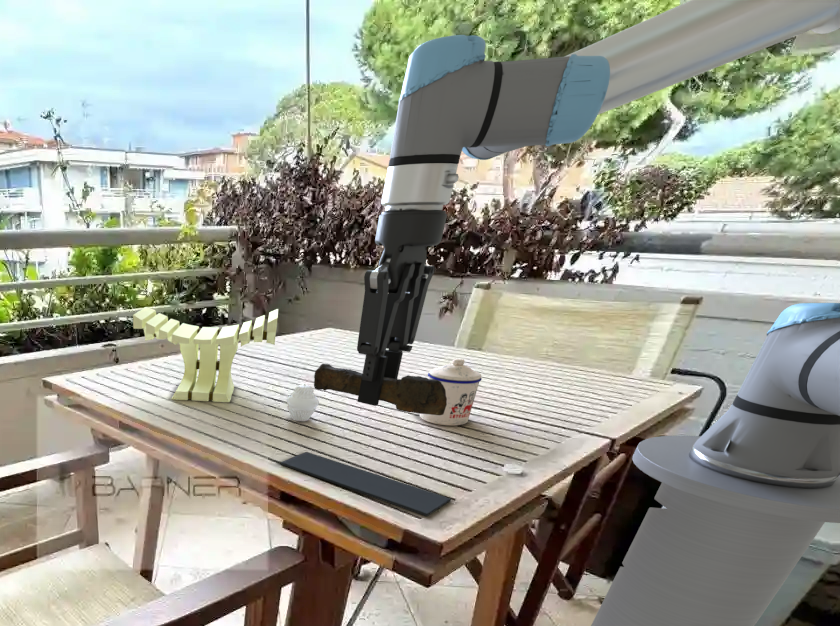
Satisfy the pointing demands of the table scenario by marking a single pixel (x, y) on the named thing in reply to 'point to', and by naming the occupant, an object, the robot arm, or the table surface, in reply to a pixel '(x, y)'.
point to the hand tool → (388, 389)
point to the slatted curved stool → (205, 351)
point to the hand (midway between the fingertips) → (375, 400)
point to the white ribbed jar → (302, 403)
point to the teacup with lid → (455, 392)
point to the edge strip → (368, 483)
